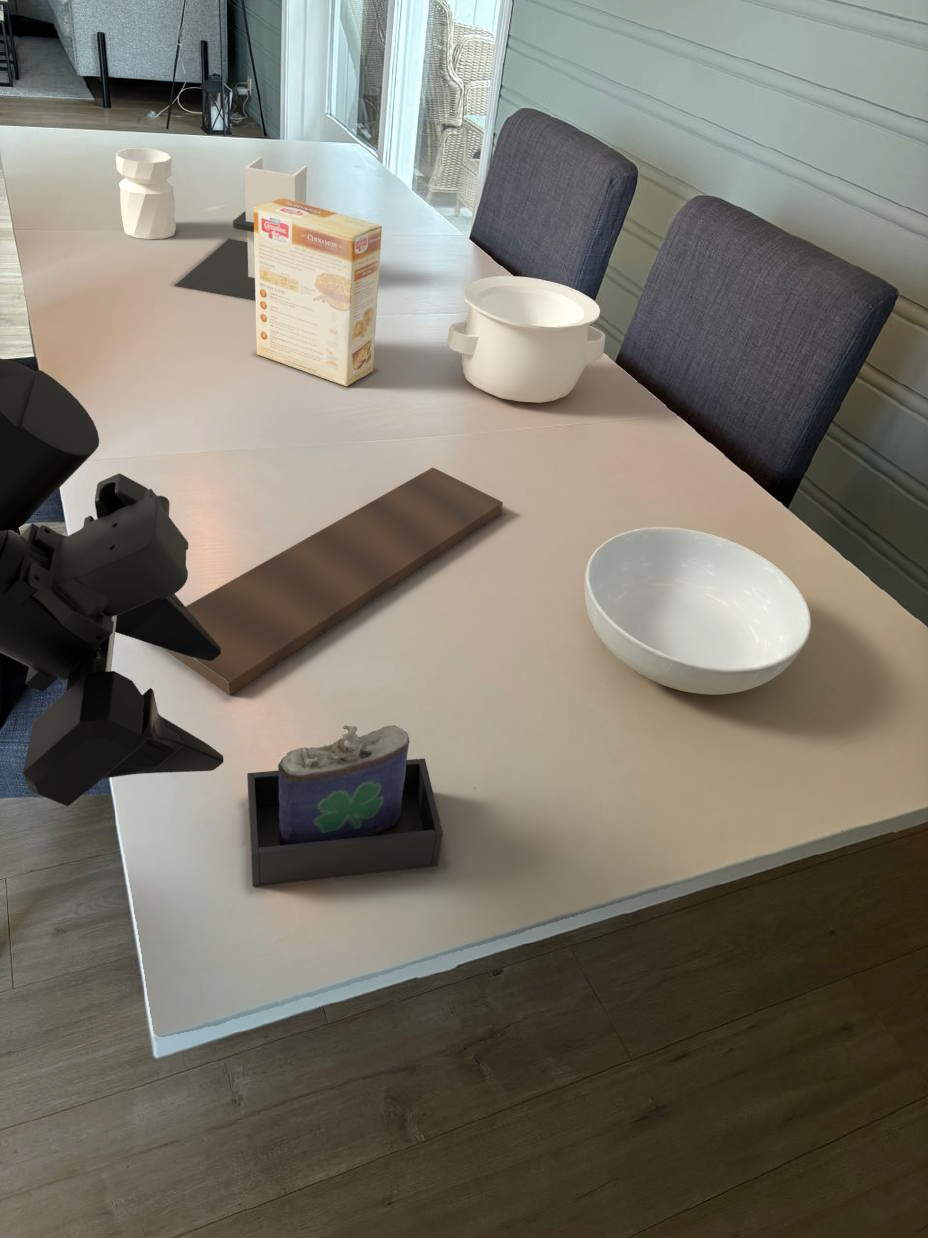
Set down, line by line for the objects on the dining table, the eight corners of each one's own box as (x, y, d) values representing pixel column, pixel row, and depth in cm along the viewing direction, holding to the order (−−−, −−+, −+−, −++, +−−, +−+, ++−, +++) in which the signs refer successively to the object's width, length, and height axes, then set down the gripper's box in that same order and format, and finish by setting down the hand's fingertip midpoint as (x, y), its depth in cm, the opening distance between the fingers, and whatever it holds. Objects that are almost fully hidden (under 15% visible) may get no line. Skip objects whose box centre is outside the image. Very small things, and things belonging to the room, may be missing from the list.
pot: (573, 361, 137) (590, 279, 130) (611, 416, 125) (633, 330, 117) (430, 357, 132) (439, 272, 124) (455, 414, 119) (467, 324, 111)
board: (229, 695, 76) (229, 683, 75) (150, 639, 80) (148, 626, 79) (501, 513, 102) (503, 502, 101) (431, 478, 106) (432, 466, 105)
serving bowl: (534, 598, 91) (546, 542, 87) (703, 567, 99) (722, 514, 95) (645, 748, 77) (667, 689, 73) (831, 697, 85) (861, 642, 81)
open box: (252, 886, 62) (251, 854, 60) (248, 805, 68) (247, 772, 65) (437, 865, 66) (443, 834, 63) (420, 789, 71) (424, 758, 68)
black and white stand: (368, 263, 158) (374, 161, 148) (332, 314, 140) (336, 201, 129) (228, 238, 159) (224, 135, 149) (174, 285, 140) (165, 171, 130)
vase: (130, 240, 153) (122, 162, 145) (117, 223, 158) (109, 147, 151) (182, 238, 156) (177, 162, 149) (168, 221, 162) (163, 147, 154)
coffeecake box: (374, 370, 126) (384, 224, 114) (346, 388, 121) (353, 237, 109) (285, 339, 130) (285, 195, 118) (254, 355, 125) (251, 205, 113)
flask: (392, 801, 69) (404, 702, 62) (408, 830, 67) (421, 731, 61) (274, 837, 65) (272, 736, 59) (287, 870, 64) (286, 769, 57)
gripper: (47, 594, 37) (326, 749, 46) (90, 383, 50) (298, 536, 60) (-107, 745, 40) (182, 861, 50) (-28, 509, 54) (186, 635, 63)
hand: (217, 706), depth 56 cm, fingers open, 9 cm apart
